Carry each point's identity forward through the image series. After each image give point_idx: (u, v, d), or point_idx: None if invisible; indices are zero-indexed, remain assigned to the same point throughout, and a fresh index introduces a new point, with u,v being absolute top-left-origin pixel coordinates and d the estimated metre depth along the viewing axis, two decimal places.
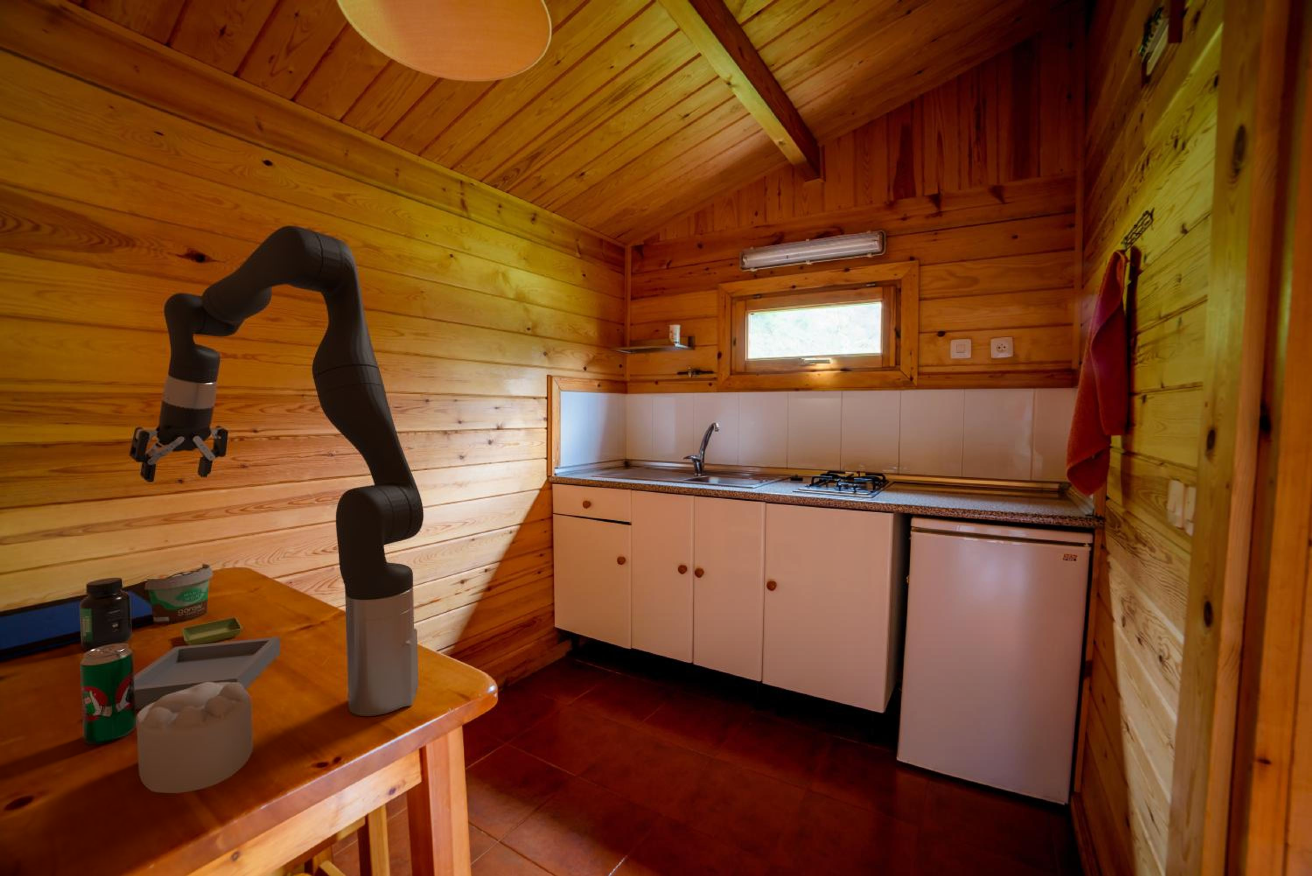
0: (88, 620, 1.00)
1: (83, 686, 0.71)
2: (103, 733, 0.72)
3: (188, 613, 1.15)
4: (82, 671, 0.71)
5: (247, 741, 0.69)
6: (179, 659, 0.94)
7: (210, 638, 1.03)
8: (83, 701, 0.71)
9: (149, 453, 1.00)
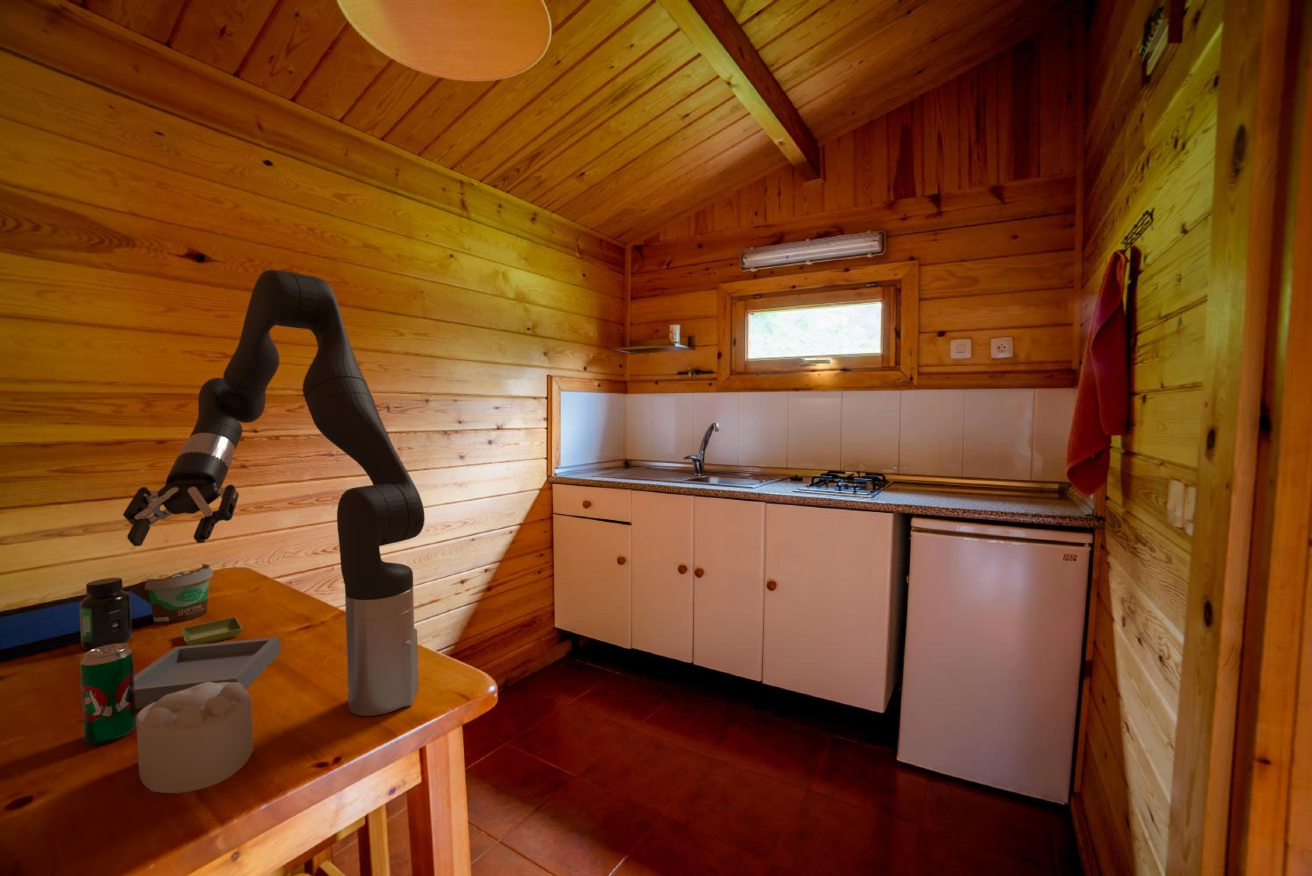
0: (88, 620, 1.00)
1: (83, 686, 0.71)
2: (103, 733, 0.72)
3: (188, 613, 1.15)
4: (82, 671, 0.71)
5: (247, 741, 0.69)
6: (179, 659, 0.94)
7: (210, 638, 1.03)
8: (83, 701, 0.71)
9: (150, 518, 0.89)
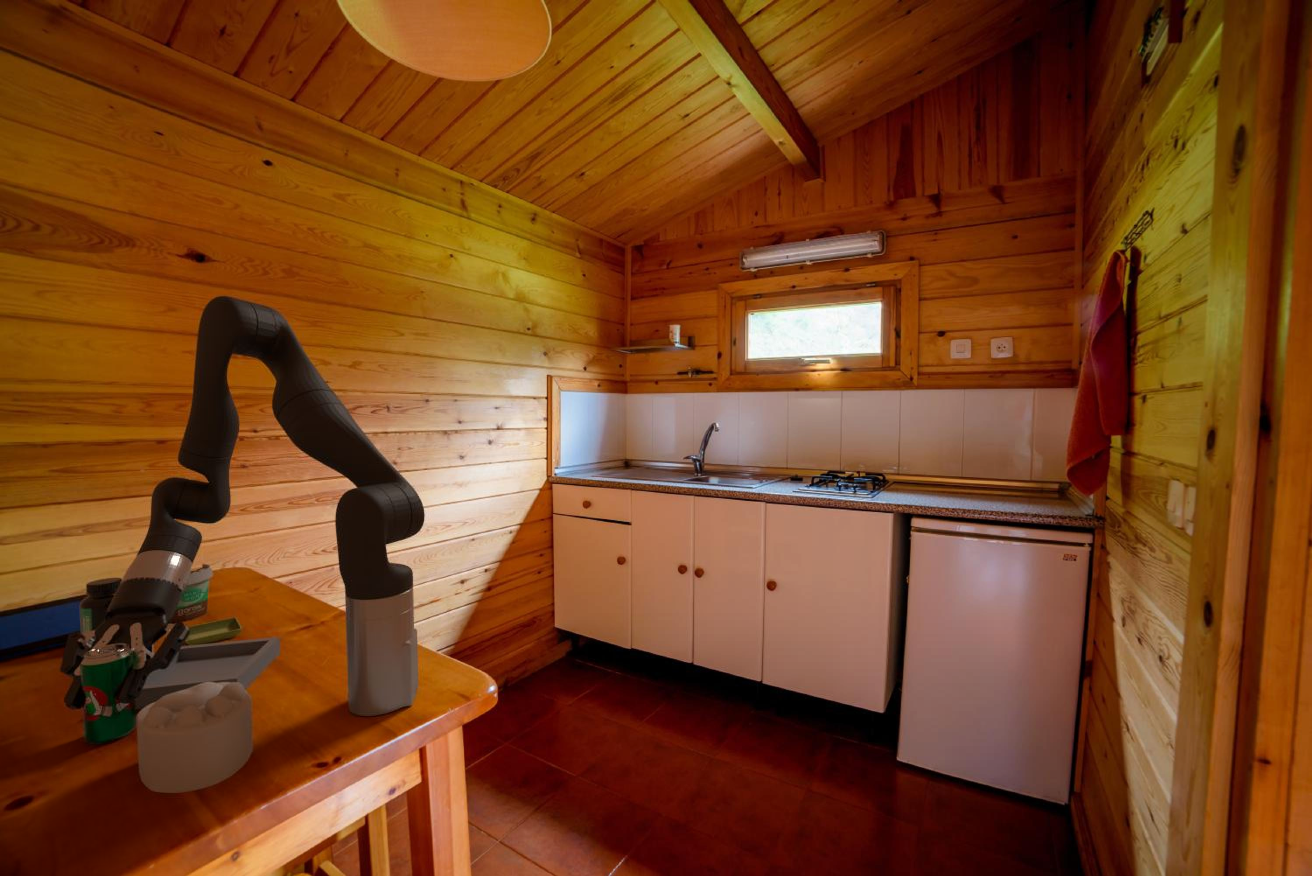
0: (88, 620, 1.00)
1: (83, 686, 0.71)
2: (103, 733, 0.72)
3: (188, 613, 1.15)
4: (82, 671, 0.71)
5: (247, 741, 0.69)
6: (179, 659, 0.94)
7: (210, 638, 1.03)
8: (83, 701, 0.71)
9: None
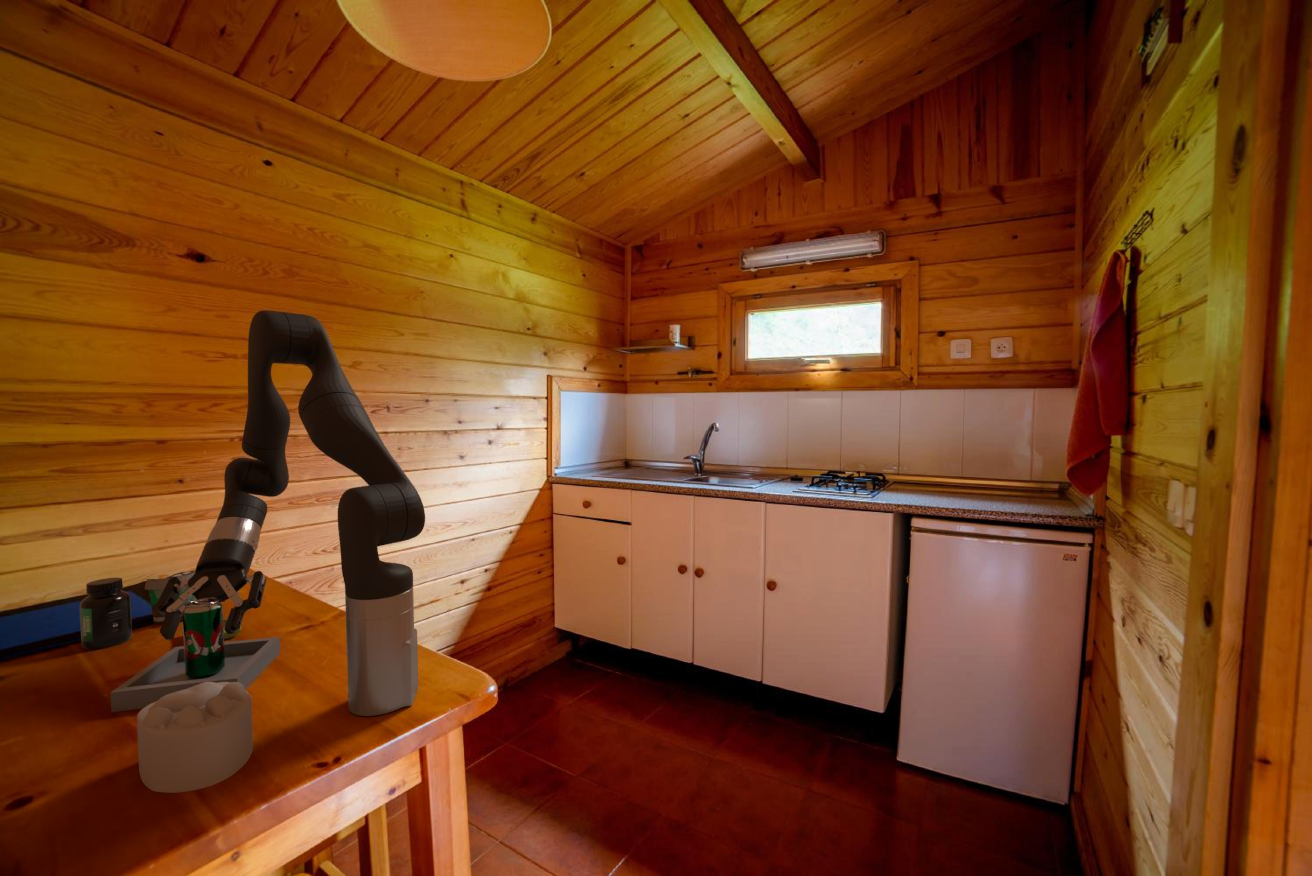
0: (88, 620, 1.00)
1: (186, 630, 0.87)
2: (201, 669, 0.87)
3: None
4: (185, 618, 0.87)
5: (247, 741, 0.69)
6: (179, 659, 0.94)
7: None
8: (185, 643, 0.87)
9: (180, 608, 0.91)
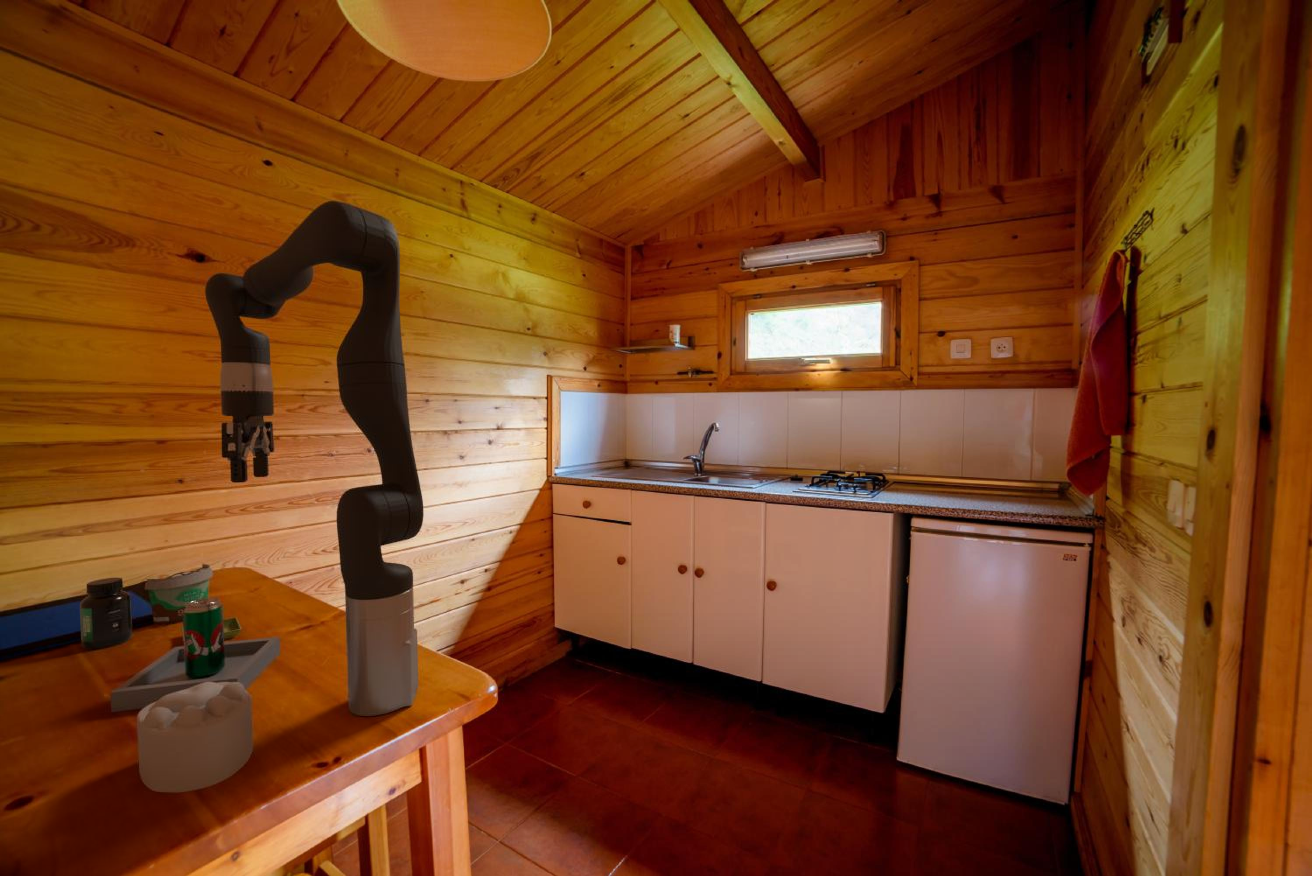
0: (88, 620, 1.00)
1: (186, 630, 0.87)
2: (201, 669, 0.87)
3: None
4: (185, 618, 0.87)
5: (248, 740, 0.69)
6: (179, 659, 0.94)
7: None
8: (185, 643, 0.87)
9: None
